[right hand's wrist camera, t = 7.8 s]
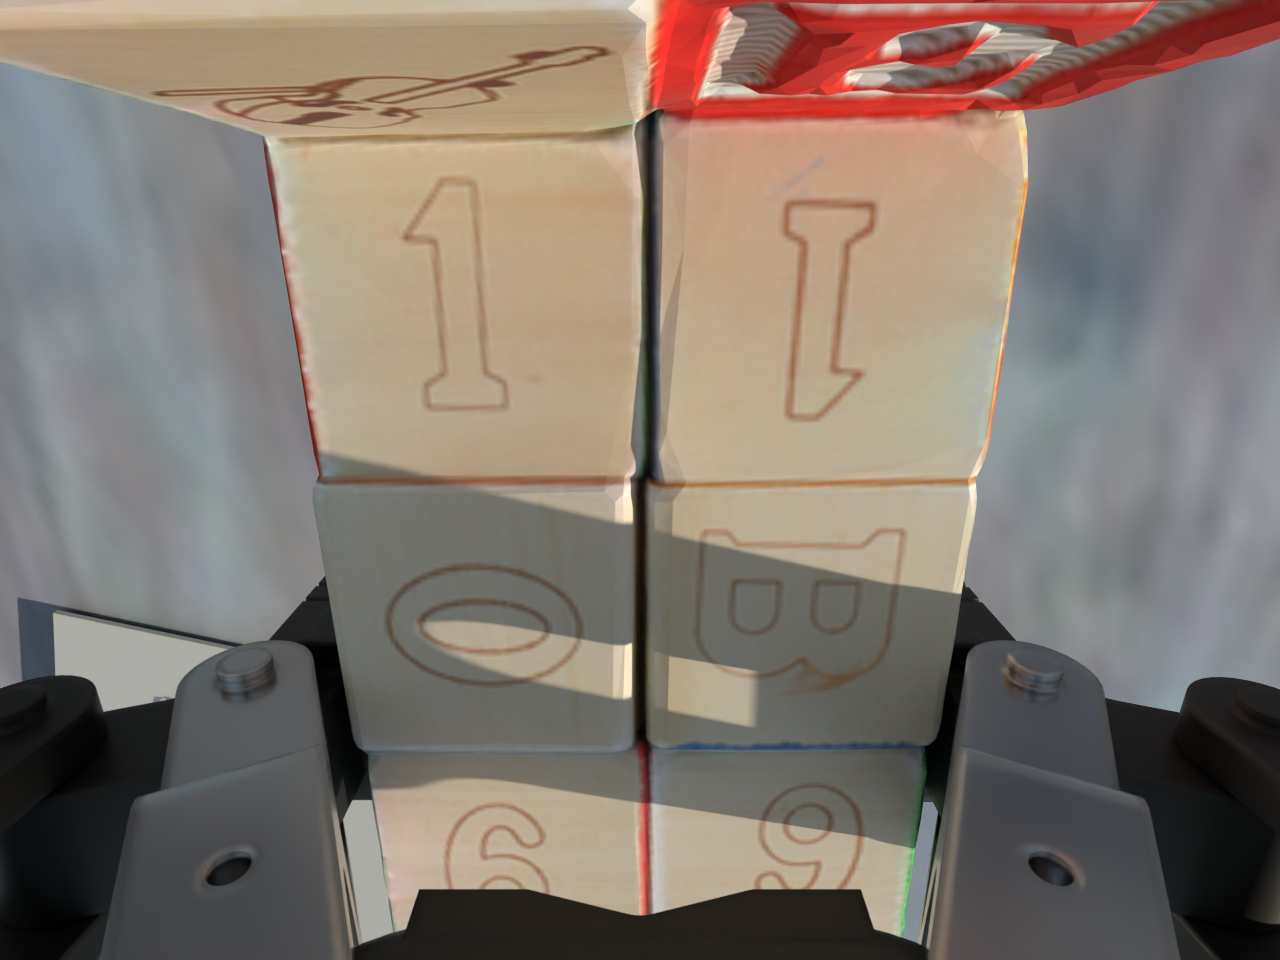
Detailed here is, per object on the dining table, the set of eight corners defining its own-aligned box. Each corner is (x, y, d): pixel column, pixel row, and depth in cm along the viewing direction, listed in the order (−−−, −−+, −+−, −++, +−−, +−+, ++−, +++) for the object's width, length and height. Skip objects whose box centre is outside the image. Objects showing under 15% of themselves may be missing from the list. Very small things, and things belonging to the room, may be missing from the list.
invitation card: (400, 1067, 33) (66, 1014, 32) (402, 1060, 34) (71, 1007, 32) (478, 702, 26) (51, 614, 25) (479, 697, 26) (57, 609, 25)
